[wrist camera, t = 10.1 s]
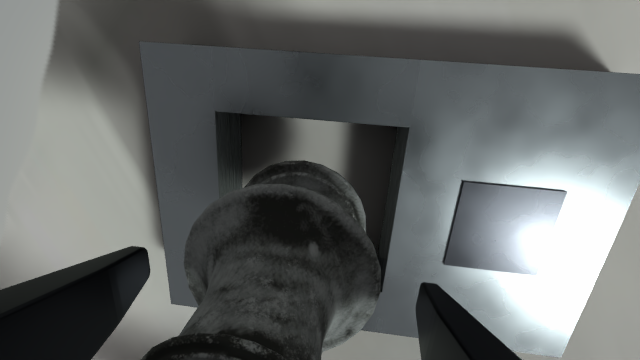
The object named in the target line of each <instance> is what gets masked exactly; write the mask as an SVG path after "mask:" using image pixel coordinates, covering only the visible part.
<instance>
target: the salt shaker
mask: <svg viewBox="0 0 640 360" xmlns="http://www.w3.org/2000/svg"><path fill="white" fill-rule="evenodd" d="M184 269H185V273H186V277H187V282H188V286H189V289H190V291H191V293H192V294H193V296H194V298H195V300H196V302H197V304H198V306H199V307H198V308H197V310H196V311H195V312H194V314H193V315H192V317H191V318H190V320H189V321H188V323H187V324H186V326H185V327H184V329H183V330H182V332H181V333H180V335H179V336H178V337H173V338H171V339H168V340H166V341H164V342H162V343H160V344H158V345H156V346H154V347H152V348H151V350H150V351H149V352H148V353H147V354H146V355H145V356H144V357H143V358H142V359H141V360H321V354H322V352H323V351H326V350H328V349H331V348H333V347H336V346H338V345H341V344H343V343H344V342H346V341H347V340H348V339H350V338H351V337H352V336H354V335H355V334H356V333H358V332H359V331H360V330H361V329H362V328H363V326H364V325H365V324H366V322H367V321H368V320H369V318H370V317H371V316H372V314H373V313H374V310H375V307H376V304H377V301H378V298H379V296H380V289H381V268H380V264H379V261H378V258H377V255H376V251H375V248H374V245H373V243H372V242H371V240H370V238H369V237H368V235H367V234H366V215H365V212H364V208H363V205H362V202H361V199H360V198H359V196H358V194H357V193H356V191H355V190H354V188H353V187H352V185H351V184H350V183H348V182H347V181H346V180H345V179H344V178H343V177H342V176H341V175H340V174H339V173H337V172H335V171H333V170H331V169H329V168H327V167H325V166H323V165H321V164H317V163H312V162H308V161H284V162H281V163H278V164H274V165H271V166H269V167H267V168H265V169H264V170H262V171H261V172H259V173H257V174H256V175H255V176H254V177H253V178H252V179H251V180H250V181H249V183H248V184H247V185H246V186H245V187H244V188H241V189H238V190H234V191H231V192H229V193H227V194H226V195H224V196H223V197H221V198H219V199H218V200H216V201H215V202H213V203H211V204H210V205H209V206H208V207H207V208H206V209H205V210H204V212H203V213H202V214H201V215H200V216H199V217H198V219H197V220H196V221H195V222H194V223H193V226H192V228H191V231H190V233H189V236H188V238H187V241H186V243H185V255H184Z"/></svg>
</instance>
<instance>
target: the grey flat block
mask: <svg viewBox="0 0 640 360" xmlns="http://www.w3.org/2000/svg"><path fill="white" fill-rule="evenodd" d="M139 46H140V54H141V62H142V70H143V78H144V87H145V95H146V103H147V111H148V119H149V127H150V136H151V144H152V152H153V160H154V168H155V176H156V184H157V193H158V201H159V209H160V217H161V225H162V233H163V241H164V250H165V258H166V266H167V274H168V282H169V290H170V298H171V304H176V305H183V306H190V307H199V306H198V304H197V302H196V300H195V298H194V296H193V294H192V293H191V291H190V289H189V286H188V282H187V277H186V273H185V269H184V255H185V243H186V241H187V238H188V236H189V233H190V231H191V228H192V226H193V223H194V222H195V221H196V220H197V219H198V217H199V216H200V215H201V214H202V213H203V212H204V210H205V209H206V208H207V207H208V206H209V205H210V204H211V203H213V202H215V201H216V200H218V199H219V198H221V197H223V196H224V195H226V194H227V193H229V192H231V191H234V190H238V189H241V188H242V153H241V114H253V115H265V116H277V117H289V118H301V119H313V120H325V121H337V122H349V123H361V124H373V125H385V126H397V127H398V128H397V134H396V141H395V147H394V154H393V160H392V167H391V173H390V180H389V186H388V193H387V200H386V206H385V213H384V219H383V226H382V232H381V239H380V245H379V252H378V257H377V258H378V261H379V264H380V268H381V289H380V296H379V298H378V301H377V304H376V307H375V310H374V313H373V314H372V316H371V317H370V318H369V320H368V321H367V322H366V324H365V325H364V326H363V328H362V329H361V330H364V331H371V332H378V333H386V334H393V335H400V336H407V337H414V338H419V336H418V328H417V321H416V302H417V297H418V293H419V288H420V285H421V283H422V282H428V283H436V284H438V285H439V286H440V287H441V288H442V289H443V290H444V291H446V292H447V293H448V294H449V295H450V296H451V297H452V298H453V299H455V300H456V301H457V302H458V303H459V304H460V305H461V306H462V307H464V308H465V309H466V310H467V311H468V312H469V313H470V314H471V315H472V316H474V317H475V318H476V319H477V320H478V321H479V322H480V323H481V324H483V325H484V326H485V327H486V328H487V329H488V330H489V331H490V332H492V333H493V334H494V335H495V336H496V337H497V338H498V339H499V340H501V341H502V342H503V343H504V344H505V345H506V346H507V347H508V348H509V349H511V350H512V351H516V352H523V353H530V354H537V355H544V356H552V357H559V358H561V356H562V354H563V352H564V350H565V348H566V345H567V343H568V341H569V339H570V336H571V334H572V332H573V330H574V328H575V325H576V323H577V321H578V319H579V316H580V314H581V312H582V310H583V308H584V305H585V303H586V301H587V299H588V296H589V294H590V292H591V290H592V288H593V285H594V283H595V281H596V279H597V276H598V274H599V272H600V270H601V268H602V265H603V263H604V261H605V259H606V256H607V254H608V252H609V250H610V248H611V245H612V243H613V241H614V239H615V237H616V234H617V232H618V230H619V228H620V225H621V223H622V221H623V219H624V217H625V214H626V212H627V210H628V208H629V205H630V203H631V201H632V199H633V197H634V194H635V192H636V190H637V188H638V185H639V183H640V74H630V73H615V72H600V71H584V70H569V69H554V68H539V67H523V66H508V65H493V64H478V63H462V62H447V61H432V60H417V59H401V58H386V57H371V56H356V55H340V54H325V53H310V52H295V51H279V50H264V49H249V48H234V47H218V46H203V45H188V44H173V43H157V42H142V41H139Z"/></svg>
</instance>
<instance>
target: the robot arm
mask: <svg viewBox="0 0 640 360" xmlns="http://www.w3.org/2000/svg"><path fill="white" fill-rule="evenodd" d="M149 275H150V265H149V258H148V252H147V250H146V249H145V248H144V247H136V246H131V247H127V248H124V249H121V250H118V251H115V252H112V253H109V254H106V255H103V256H100V257H97V258H94V259H91V260H88V261H85V262H82V263H79V264H77V265H74V266H71V267H68V268H65V269H62V270H59V271H56V272H53V273H50V274H47V275H44V276H41V277H38V278H35V279H32V280H29V281H26V282H23V283H20V284H17V285H14V286H11V287H8V288H5V289H2V290H0V360H91V359H92V358H93V357H94V355H95V354H96V353H97V351H98V350H99V349H100V348H101V346H102V345H103V344H104V342H105V341H106V340H107V339H108V337H109V336H110V335H111V333H112V332H113V331H114V329H115V328H116V327H117V325H118V324H119V323H120V321H121V320H122V318H123V317H124V315H125V314H126V312H127V311H128V309H129V308H130V306H131V304H132V303H133V301H134V300H135V298H136V297H137V295H138V294H139V292H140V290H141V289H142V287H143V286H144V284H145V283H146V281H147V280H148V278H149ZM416 321H417V328H418V336H419V344H420V352H421V360H522V359H521V358H520V357H518V356H517V355H516V354H515V353H514V352H513V351H512V350H511V349H509V348H508V347H507V346H506V345H505V344H504V343H503V342H502V341H501V340H499V339H498V338H497V337H496V336H495V335H494V334H493V333H492V332H490V331H489V330H488V329H487V328H486V327H485V326H484V325H483V324H481V323H480V322H479V321H478V320H477V319H476V318H475V317H474V316H472V315H471V314H470V313H469V312H468V311H467V310H466V309H465V308H464V307H462V306H461V305H460V304H459V303H458V302H457V301H456V300H455V299H453V298H452V297H451V296H450V295H449V294H448V293H447V292H446V291H444V290H443V289H442V288H441V287H440V286H439V285H438V284H436V283H428V282H422V283H421V285H420V288H419V293H418V297H417V302H416Z"/></svg>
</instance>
